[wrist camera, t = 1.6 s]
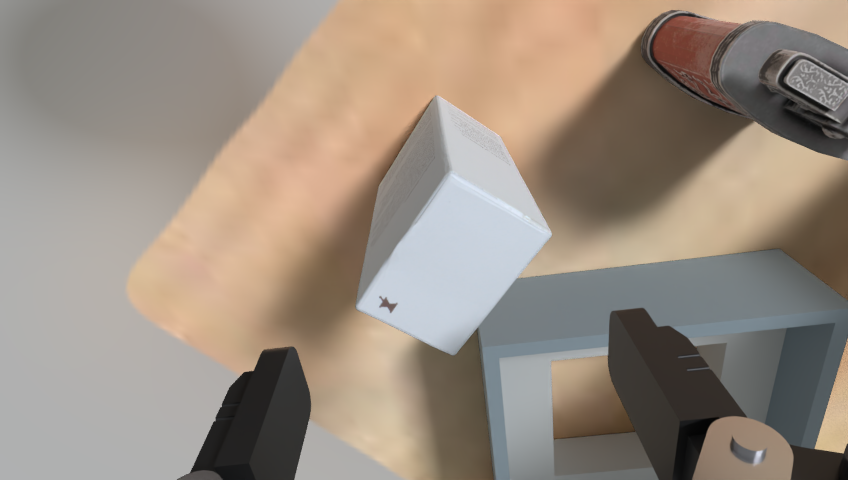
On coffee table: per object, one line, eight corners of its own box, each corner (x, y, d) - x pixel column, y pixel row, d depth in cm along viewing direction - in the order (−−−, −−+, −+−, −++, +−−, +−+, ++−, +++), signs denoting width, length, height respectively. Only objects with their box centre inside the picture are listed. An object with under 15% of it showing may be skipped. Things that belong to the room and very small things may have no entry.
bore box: (779, 248, 30) (856, 307, 24) (736, 460, 38) (787, 539, 33) (472, 283, 31) (482, 347, 26) (493, 482, 39) (505, 561, 34)
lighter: (801, 68, 25) (1006, 118, 16) (753, 130, 27) (918, 206, 18) (668, -8, 24) (815, 0, 15) (626, 61, 25) (736, 107, 16)
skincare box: (442, 222, 29) (452, 363, 18) (377, 185, 28) (347, 311, 17) (505, 133, 27) (558, 236, 16) (436, 89, 26) (445, 167, 15)
